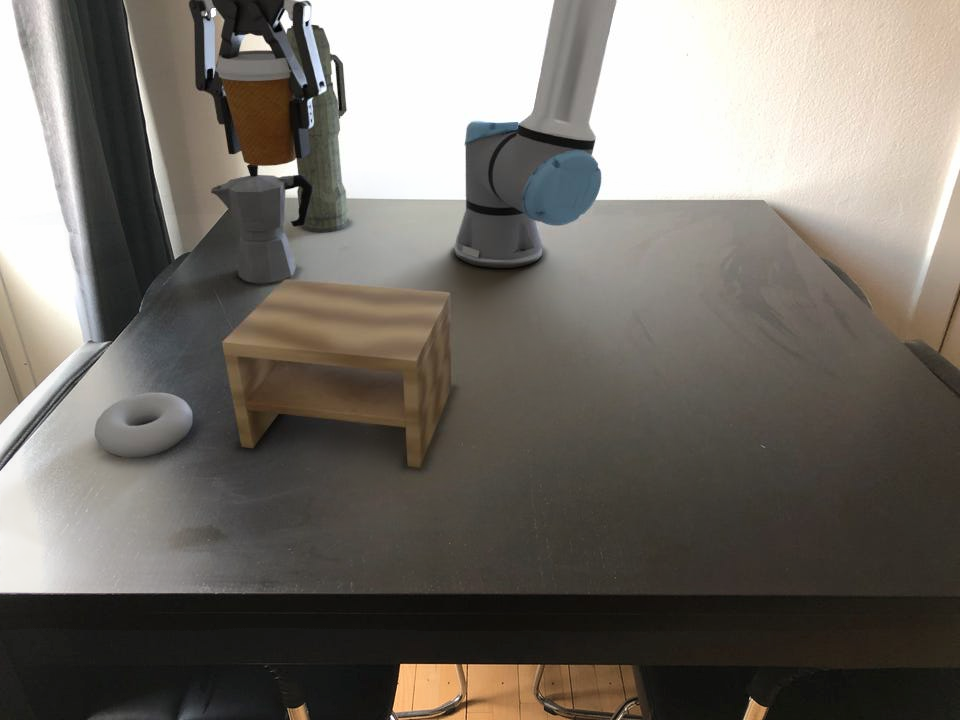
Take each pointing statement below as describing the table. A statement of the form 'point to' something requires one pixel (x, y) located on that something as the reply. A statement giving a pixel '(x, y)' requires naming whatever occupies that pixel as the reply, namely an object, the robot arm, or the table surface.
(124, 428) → the donut
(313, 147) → the thermos
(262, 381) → the shelf
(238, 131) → the disposable coffee cup
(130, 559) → the table surface
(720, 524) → the table surface
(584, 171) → the robot arm
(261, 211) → the coffeepot
